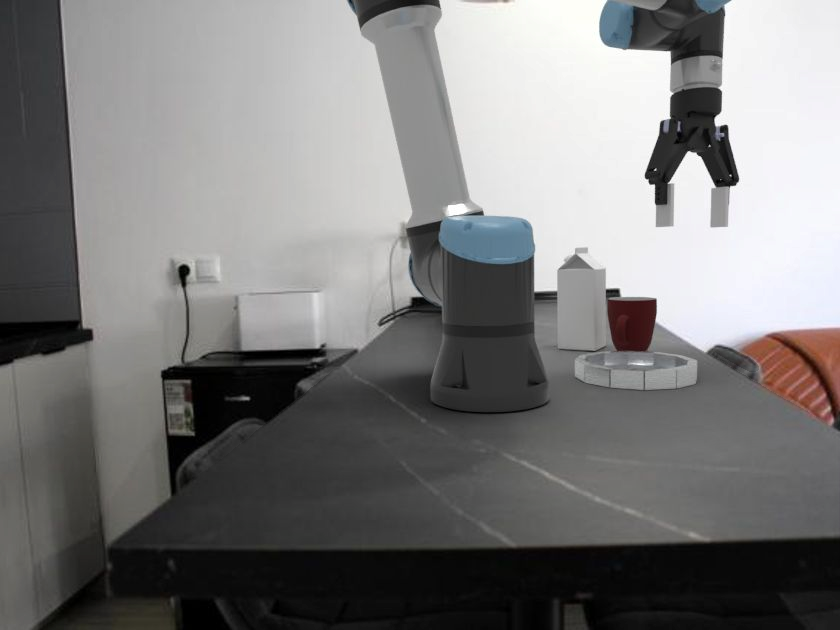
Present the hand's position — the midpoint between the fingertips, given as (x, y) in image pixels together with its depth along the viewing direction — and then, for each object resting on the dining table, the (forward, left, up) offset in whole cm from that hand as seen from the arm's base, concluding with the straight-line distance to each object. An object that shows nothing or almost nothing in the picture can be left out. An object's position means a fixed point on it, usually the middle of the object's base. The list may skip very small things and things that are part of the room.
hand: (692, 227), depth 100 cm
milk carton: (-13, +17, -22) cm, 30 cm away
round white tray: (-14, -11, -22) cm, 28 cm away
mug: (-8, +5, -22) cm, 24 cm away
